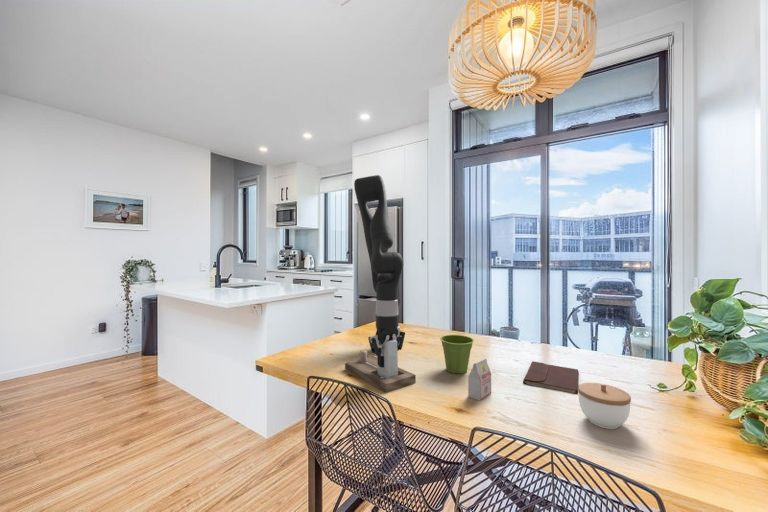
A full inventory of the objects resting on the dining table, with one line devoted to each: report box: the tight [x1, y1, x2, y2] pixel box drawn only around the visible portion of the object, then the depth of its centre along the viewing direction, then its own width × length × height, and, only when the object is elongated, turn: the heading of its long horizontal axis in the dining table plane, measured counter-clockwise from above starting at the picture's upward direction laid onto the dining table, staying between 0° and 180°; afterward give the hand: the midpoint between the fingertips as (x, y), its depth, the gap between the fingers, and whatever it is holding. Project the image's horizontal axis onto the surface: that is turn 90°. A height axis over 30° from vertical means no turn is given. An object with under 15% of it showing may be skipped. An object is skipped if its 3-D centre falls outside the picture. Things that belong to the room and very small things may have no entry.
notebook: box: [522, 360, 580, 395], centre depth 108 cm, size 15×20×2 cm
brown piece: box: [344, 350, 417, 393], centre depth 110 cm, size 12×24×6 cm, turn 37°
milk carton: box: [467, 358, 492, 401], centre depth 95 cm, size 4×7×10 cm, turn 134°
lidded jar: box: [578, 382, 632, 430], centre depth 79 cm, size 11×11×9 cm
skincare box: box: [376, 339, 399, 379], centre depth 106 cm, size 6×4×12 cm
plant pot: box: [439, 334, 475, 374], centre depth 115 cm, size 12×12×11 cm
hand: (387, 364), depth 106 cm, fingers closed on skincare box, 4 cm apart
